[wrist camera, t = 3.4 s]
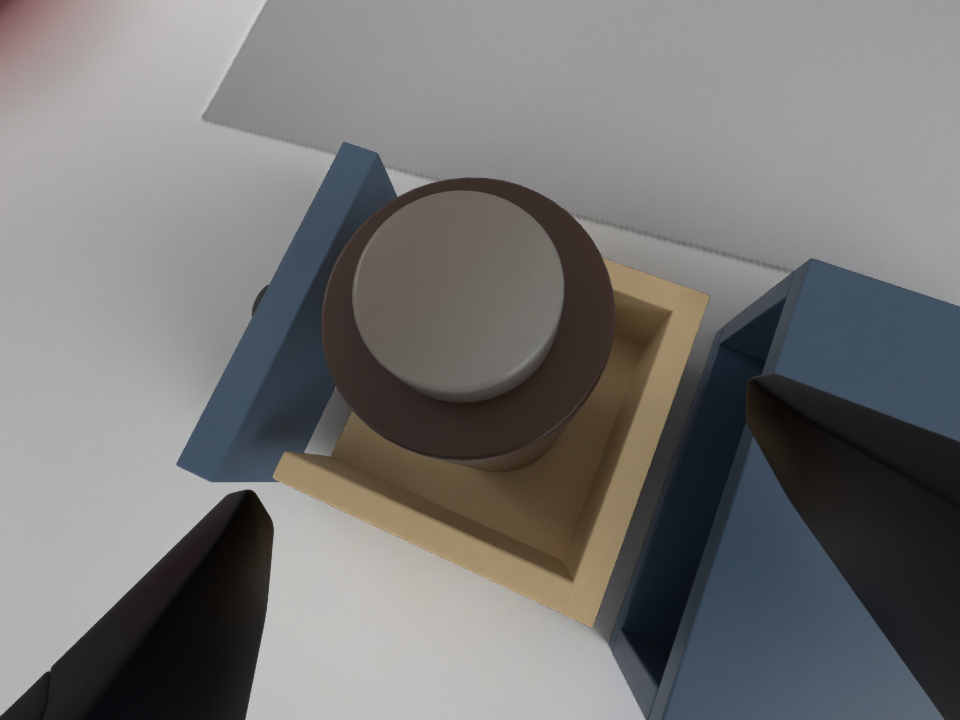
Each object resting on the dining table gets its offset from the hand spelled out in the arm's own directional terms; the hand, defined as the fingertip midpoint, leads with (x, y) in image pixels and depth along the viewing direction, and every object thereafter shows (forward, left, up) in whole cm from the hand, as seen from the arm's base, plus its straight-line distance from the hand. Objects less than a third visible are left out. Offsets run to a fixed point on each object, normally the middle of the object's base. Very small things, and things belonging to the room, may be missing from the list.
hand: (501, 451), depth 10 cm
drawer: (+3, -2, -9) cm, 10 cm away
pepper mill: (+1, -2, -8) cm, 8 cm away
